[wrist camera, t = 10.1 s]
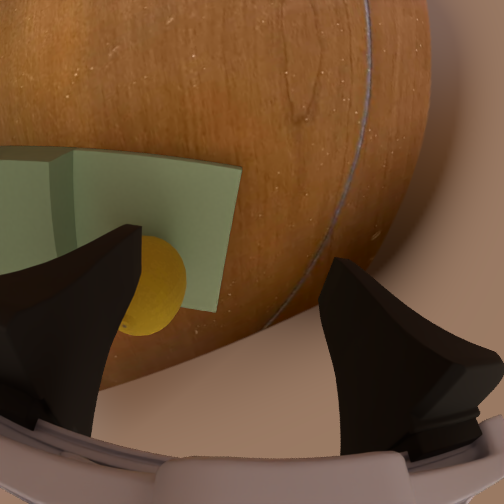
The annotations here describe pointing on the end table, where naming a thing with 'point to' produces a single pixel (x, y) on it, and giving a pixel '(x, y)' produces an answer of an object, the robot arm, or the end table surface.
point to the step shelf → (117, 207)
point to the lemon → (156, 289)
